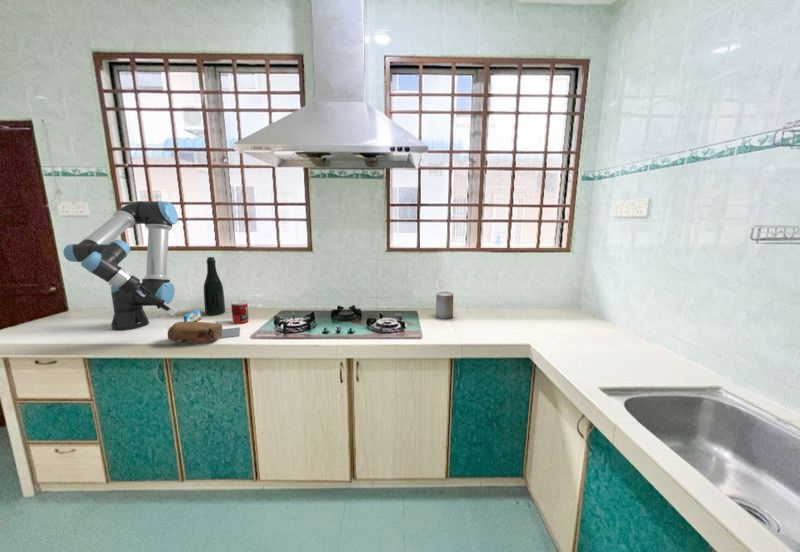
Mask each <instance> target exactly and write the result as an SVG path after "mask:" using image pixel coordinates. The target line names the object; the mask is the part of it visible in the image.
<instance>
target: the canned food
mask: <svg viewBox="0 0 800 552" xmlns="http://www.w3.org/2000/svg"><path fill="white" fill-rule="evenodd" d="M231 315H232V316H231V317H232V318H231V319H232V322H233V323H232V324H234V325H243V324H247V323H249V321H250V319H249V306H248V301H247V300H234V301H232V302H231Z"/></svg>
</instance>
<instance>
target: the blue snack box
mask: <svg viewBox="0 0 800 552" xmlns="http://www.w3.org/2000/svg"><path fill="white" fill-rule="evenodd" d="M200 320H201V321H202V315H201V309H195V310H193V311H191V312H188V313H186V314H185V315H183V322H198V321H199V322H201V321H200Z"/></svg>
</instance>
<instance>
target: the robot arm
mask: <svg viewBox="0 0 800 552" xmlns="http://www.w3.org/2000/svg"><path fill="white" fill-rule="evenodd" d="M178 219H179V215H178V212H177V209H176V207H175V206H174V205H173V204H172V203H171V202H169V201H162V200H158V201H156V200H155V201H151V200H150V201H149V200H145V201H144V200H138V201H134V202H130V203H128V204H126V205H123V206H122V207H120V208H118V209H117V210H116V211H114V213H113V214H112V217H110V219H108V220H107V221H105V223H103V224H102V225H100V226H99V227H98V228H97V229H96V230H94V231H93V232H92V233H90V234H89V235H88V236H86V237H85V238H84V239H82V241H80V242H79V243H77V244H76V243H73V244H71V243H70V244H67V245H66V246H65V247H64V248H63V250H62V251H63V256H64V258H65V259H66V260H67V261H69V262H72V263H73V262H75V263H80V266H81V267H82V268H84V269H86V270H87V272H89V273H92V274H93V275H95V276H97V277H98V278H99V279H102V280H103V281H105V282H107V283H108V285H109V286H110V294H111V299H112V300H111V301H112V306H113V317H112V321H111V325H110V326H111V329H112V330H114V331H123V330H124V331H127V330H133V329H138V328H142V327H145V326H147V325H149V323H150V321H149V317H148V315H147V314H146V312H145V311H144V307H145V306H147V307H149V306H150V307H151V306H152V307H153V306H154V307H157V309H158V310H159V309H161V310H163V311H164V312H166V313H168V314H169V315H171V316H172V317H173V316H175V315H176V313H178V309H176V308H174V307H173V306H171V305H170V303H171V302H172V301H173V299H174V297H175V294H176V293H175V291H176V289H175V285H174V284H173V283H171V282H170V281H171V279H170V278H169V277H168V276H167V274H168V271H167V270H168V253H169V252H168V251H169V232H170V231H171V230H172V229H173V225H176V224H177V223H178ZM143 224H144V227H146V228H147V230H148V231H147V232H148V233H147V234H148V235H147V236H148V237H147V250H146V251H147V252H146V253H147V255H146V271H145V276H144V277H143V278H142V279H141V280H140V279H139V278H138V277H137V276H134V275H131V273H130V272H128V271H127V270H126V269H125V268H122V267H121V266H119V264H120V263H121V262H122V261H123V260H124V259H125V258H127V256H128V254H129V253H130V251H131V247H130V245H129V243H127V242H125V241H124V240H121V239H118V238H119V236H121V235H122V234H123V233H124V232H125V231H126V230H128V229H131V228H133V227H134V226H136V225H143Z"/></svg>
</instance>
